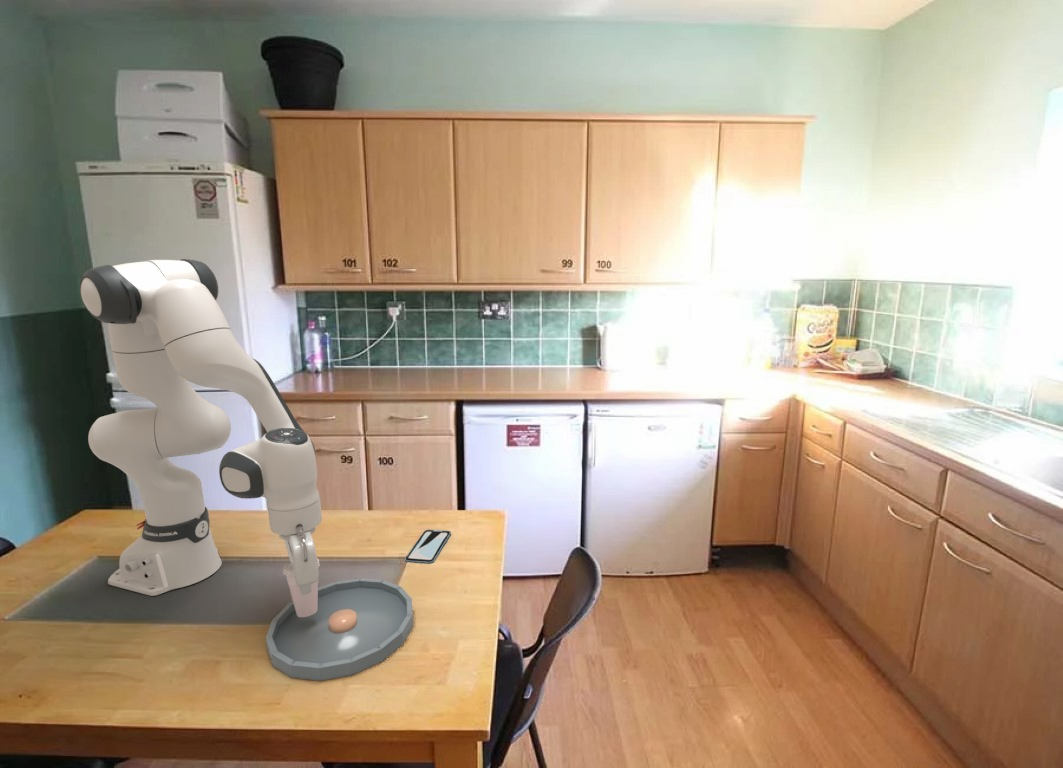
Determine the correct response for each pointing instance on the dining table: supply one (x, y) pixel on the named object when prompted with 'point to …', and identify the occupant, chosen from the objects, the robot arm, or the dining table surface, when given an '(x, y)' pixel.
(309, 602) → the smoothie
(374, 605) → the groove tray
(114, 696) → the dining table surface
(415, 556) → the smartphone
